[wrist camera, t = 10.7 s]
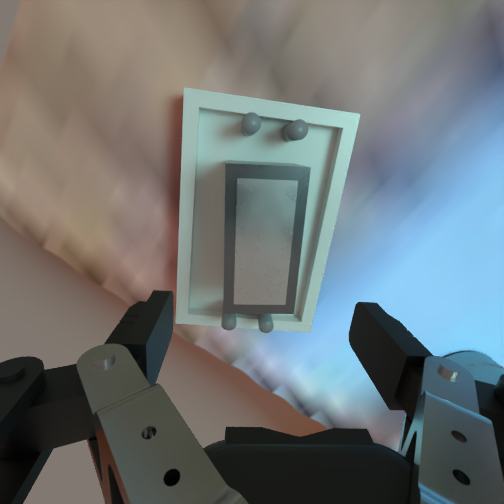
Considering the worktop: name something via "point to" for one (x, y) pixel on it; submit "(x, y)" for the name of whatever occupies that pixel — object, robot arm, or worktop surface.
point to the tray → (213, 196)
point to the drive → (263, 235)
